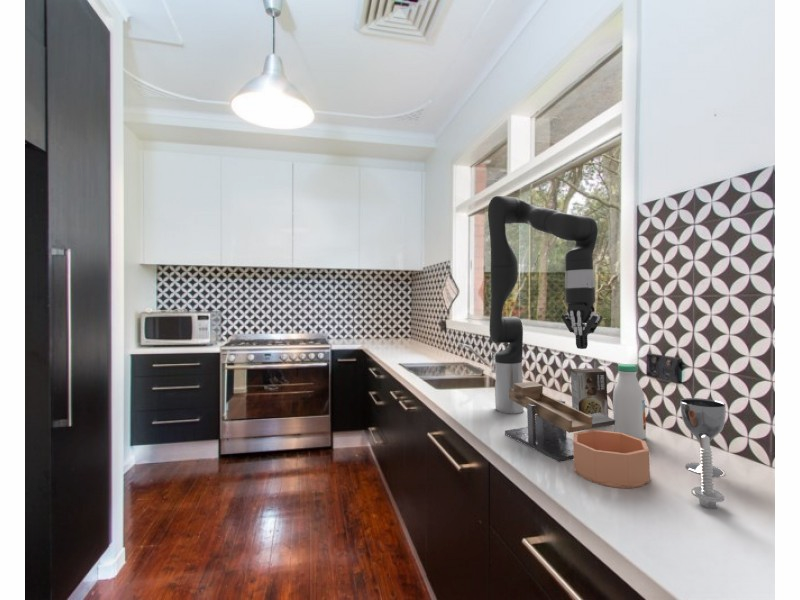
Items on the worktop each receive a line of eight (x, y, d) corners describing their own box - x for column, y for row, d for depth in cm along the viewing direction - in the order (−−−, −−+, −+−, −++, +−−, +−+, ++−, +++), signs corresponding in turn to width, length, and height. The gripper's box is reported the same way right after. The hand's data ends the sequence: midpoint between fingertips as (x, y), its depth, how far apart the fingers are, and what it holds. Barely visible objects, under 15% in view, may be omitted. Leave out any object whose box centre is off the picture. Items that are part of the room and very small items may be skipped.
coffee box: (600, 417, 127) (598, 367, 127) (609, 423, 120) (607, 371, 120) (571, 417, 128) (569, 368, 128) (578, 423, 121) (576, 371, 121)
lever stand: (504, 434, 113) (503, 396, 113) (538, 428, 117) (537, 392, 117) (559, 462, 93) (557, 416, 93) (597, 454, 97) (596, 410, 97)
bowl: (560, 465, 90) (559, 435, 90) (607, 456, 95) (606, 427, 95) (613, 493, 77) (611, 458, 77) (664, 480, 82) (663, 447, 82)
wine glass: (717, 481, 81) (714, 409, 81) (675, 467, 88) (672, 401, 88) (735, 472, 84) (732, 403, 85) (694, 459, 91) (691, 396, 92)
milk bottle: (640, 443, 103) (637, 368, 103) (609, 436, 109) (607, 365, 109) (650, 436, 108) (647, 364, 108) (620, 430, 114) (617, 361, 114)
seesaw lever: (506, 398, 115) (507, 381, 114) (548, 393, 120) (549, 377, 119) (566, 433, 92) (567, 412, 92) (614, 424, 97) (616, 404, 97)
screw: (690, 506, 71) (692, 495, 75) (725, 515, 68) (724, 503, 72) (688, 435, 71) (689, 428, 75) (722, 441, 68) (722, 433, 72)
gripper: (552, 288, 113) (554, 347, 113) (587, 285, 101) (590, 352, 101) (572, 287, 116) (574, 345, 116) (609, 285, 103) (612, 350, 103)
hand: (581, 348), depth 108 cm, fingers closed
